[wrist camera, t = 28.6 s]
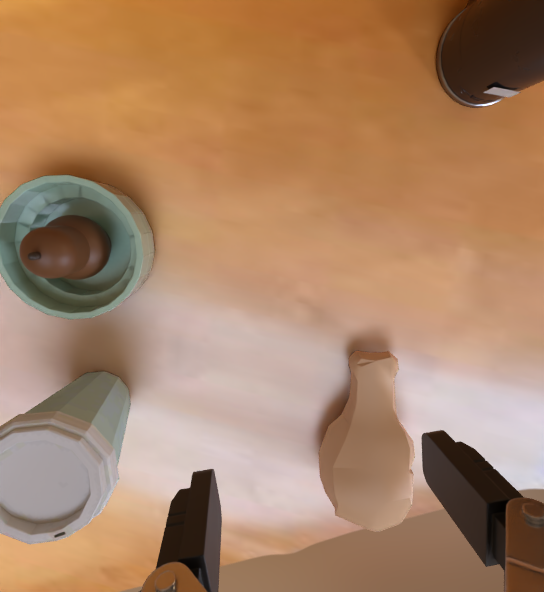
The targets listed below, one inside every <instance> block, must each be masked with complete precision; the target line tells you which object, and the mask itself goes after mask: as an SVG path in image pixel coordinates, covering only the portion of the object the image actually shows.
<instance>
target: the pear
mask: <svg viewBox="0 0 544 592" xmlns="http://www.w3.org/2000/svg"><path fill="white" fill-rule="evenodd" d="M111 248H112V245H111V240H110V238H109V236H108V234H107V233H106V231H105V230H104V229H102V227H101V226H99V225H98V224H97V223H96V222H94V221H93V220H91V219H89V218H86V217H83V216H78V215H65V216H61V217H58V218H56V219H54V220H52V221H50V222H49V223H48V224H47V225H46V226H45V227H39V228H36V229H34V230H32V231H30V232H29V233H28V234H27V235H26V236H25V237H24V238H23V240H22V241H21V244H20V249H19V253H20V258H21V261H22V263H23V264H24V266H25V267H26V268H27V269H28V270H29V271H30V272H32V273H33V274H35V275H37V276H40V277H43V278H50V279H54V278H60V277H63V278H66V279H72V280H81V279H86V278H89V277H92V276H94V275H96V274H97V273H99V272H100V271H101V270H102V269H103V268H104V267H105V266H106V264H107V262H108V260H109V257H110V253H111Z"/></svg>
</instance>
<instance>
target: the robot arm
mask: <svg viewBox="0 0 544 592" xmlns="http://www.w3.org/2000/svg"><path fill="white" fill-rule="evenodd" d="M437 72H438V76H439V79H440V82H441V84H442V86H443V88H444V90H445V91H446V92H447V94H448V95H449V96H450V97H451V98H452V99H453V100H455V101H456V102H458V103H459V104H461V105H464V106H467V107H474V108H479V107H485V106H489V105H491V104H494V103H496V102H498V101H500V100H502V99H503V98H505V97H511V96H514V95H516V94H518V93H521V92H519V91H521V90H523V89H526V88H528V87H530V86H532V85H535V84H537V83H539V82H542V81H544V0H469V1H468V4H467V7H466V9H464V10H463V11H462V12H460V13H459V14H458V15H457V16H456V17H455V18H454V19H453V20H452V21H451V22H450V23H449V25H448V26H447V28H446V29H445V31H444V33H443V35H442V37H441V39H440V42H439V46H438V51H437ZM422 462H423V473H424V476H425V479H426V482H427V484H428V485H429V487H430V488H431V490H432V491H433V493H434V494H435V495H436V497H437V498H438V500H439V501H440V502H441V504H442V505H443V507H444V508H445V509H446V511H447V512H448V514H449V515H450V517H451V518H452V519H453V521H454V522H455V524H456V525H457V526H458V528H459V529H460V531H461V532H462V533H463V535H464V536H465V538H466V539H467V541H468V542H469V543H470V545H471V546H472V547H473V549H474V550H475V552H476V553H477V555H478V556H479V557H480V559H481V560H482V562H483V563H484V564H485V566H486V567H487V566H492V565H497V564H500V565H501V567H502V568H503V570H504V592H544V503H542V502H539V501H537V500H534V499H530V498H524V497H523V496H522V495H521V494H520V493H519V492H518V491H517V490H516V489H515V488H514V487H513V486H512V485H511V484H510V483H509V482H508V481H507V480H506V479H505V478H504V477H503V476H502V475H501V474H500V473H499V472H498V471H497V470H495V469H493V467H492V466H491V465H490V464H489V463H488V462H487V461H485V459H484V458H483V457H482V456H481V455H480V454H479V453H478V452H477V451H476V450H475V449H474V448H472V447H470V446H468V445H466V444H464V443H463V442H455V441H454V440H453V439H452V438H451V437H450V436H449V435H448V434H447V433H446V432H445V431H443V430H440V431H434V432H429V433H424V434H423V435H422ZM221 524H222V517H221V505H220V499H219V494H218V489H217V483H216V478H215V473H214V469H209V470H203V471H197V472H193V475H192V480H191V486H190V488H187V489H181V490H179V491H178V493H177V494H176V496H175V497H174V498H173V500H172V501H171V505H170V509H169V514H168V518H167V522H166V528H165V531H164V536H163V540H162V544H161V549H160V553H159V557H158V562H157V566H156V569H155V570H154V571H153V572H152V573H151V574H150V575H149V576H148V578H147V579H146V581H145V582H144V584H143V587H142V590H141V591H140V592H218V585H219V565H220V545H221Z"/></svg>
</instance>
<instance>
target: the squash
mask: <svg viewBox="0 0 544 592" xmlns="http://www.w3.org/2000/svg"><path fill="white" fill-rule="evenodd" d="M349 368H350V370H351V384H350V395H349V399H348V401H347V403H346V406H345V408H344V410H343V413H342V414H341V415H340V416H339V417H338V418H337V419H336V420H335V421H334V422H332V423H331V424H330V425H329V426H328V429H327V431H326V434H325V437H324V439H323V442H322V445H321V448H320V450H319V468H320V478H321V481H322V484H323V487H324V490H325V492H326V494H327V496H328V497H329V499H330V501H331V502H332V504H333V506H334V507H335V515H336V516H338V517H341V518H343V519H345V520H347V521H350V522H352V523H354V524H356V525H359V526H361V527H363V528H365V529H368V530H372V531H376V532H379V531H382V530H384V529H387V528H389V527H393V526H395V525H398V524H400V523H401V522H402V521H403V519H404V518H405V516H406V514H407V513H408V511H409V509H410V508H411V506H412V496H413V476H414V474H413V472H412V470H411V466H412V463H413V461H414V458H415V453H414V445H413V440H412V439H411V438H410V436H409V435H408V433H407V432H406V430H405V429H404V427H403V426H402V425H401V423H400V422H399V421H398V419H397V416H396V404H395V387H394V378H395V376H396V374H397V372H398V370H399V368H398V360H397V358H396V357H395V356H393V355H392V354H391V353H390V352H389V351H386V352H378V353H369V352H362V351H355V352H354V353H353V354H352V355H351V356H350V358H349Z"/></svg>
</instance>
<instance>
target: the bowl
mask: <svg viewBox="0 0 544 592" xmlns="http://www.w3.org/2000/svg"><path fill="white" fill-rule="evenodd" d="M65 215H78V216H83V217H86V218H89V219H91V220H93V221H94V222H96V223H97V224H98V225H99V226H101V227H102V229H104V230H105V231H106V233H107V234H108V236H109V238H110V240H111V245H112V248H111V253H110V257H109V260H108V262H107V264H106V266H105V267H104V268H103V269H102V270H101V271H100V272H99V273H97V274H96V275H94V276H92V277H89V278H86V279H81V280H72V279H66V278H63V277H60V278H54V279H50V278H43V277H40V276H37V275H35V274H33V273H32V272H30V271H29V270H28V269H27V268H26V267H25V266H24V264H23V263H22V261H21V258H20V253H19V249H20V244H21V241H22V240H23V238H24V237H25V236H26V235H27V234H28V233H29V232H30V231H32V230H34V229H36V228H39V227H45V226H46V225H47V224H48V223H49V222H50V221H52V220H54V219H56V218H58V217H61V216H65ZM154 254H155V248H154V240H153V233H152V230H151V228H150V225H149V223H148V221H147V219H146V217H145V215H144V213H143V212H142V211H141V209H140V208H139V207H138V206H137V205H136V204H135V203H134V202H133V200H132V199H131V198H130V197H129V196H127V195H125V194H124V193H122V192H121V191H119V190H117V189H116V188H114V187H113V186H110V185H107V184H103V183H100V182H96V181H92V180H88V179H84V178H80V177H76V176H72V175H50V176H42V177H39V178H37V179H34V180H32V181H29V182H27V183H24V184H22V185H21V186H19V187H18V188H17V189H16V190H15V191H14V192H13V193H12V194H10V195H9V196H8V197H7V198H6V199H5V200H4V202H3V203H2V205H1V207H0V273H1V275H2V277H3V278H4V280H5V282H6V284H7V285H8V286H9V288H10V289H11V290H12V291H13V292H14V293H15V294H16V295H17V296H19V297H20V298H21V299H22V300H23V301H24V302H25V303H26V304H28V305H30V306H32V307H34V308H36V309H38V310H39V311H41V312H43V313H45V314H47V315H52V316H56V317H61V318H66V319H82V318H92V317H95V316H98V315H101V314H103V313H106V312H108V311H111V310H113V309H114V308H115V307H117V306H118V305H119V304H121V303H122V302H123V301H125V300H126V299H127V298H129V297H130V296H131V295H132V294H133V293H134V292H136V291H137V290H138V289H139V288H140V287H141V286H142V285H143V283H144V282H145V280H146V278H147V277H148V275H149V273H150V271H151V269H152V264H153V259H154Z"/></svg>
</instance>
